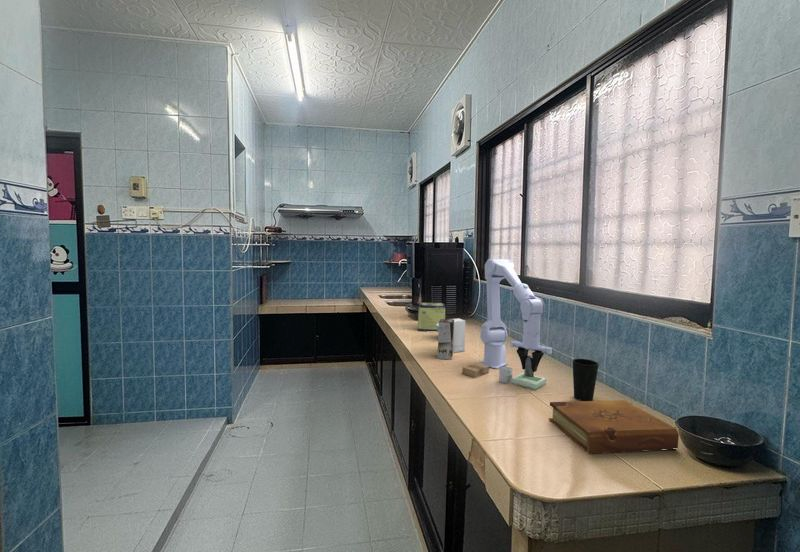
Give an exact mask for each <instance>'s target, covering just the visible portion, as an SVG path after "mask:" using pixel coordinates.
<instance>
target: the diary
mask: <svg viewBox="0 0 800 552" xmlns="http://www.w3.org/2000/svg"><path fill="white" fill-rule="evenodd" d="M549 406H550V407H551V408H552V417H549V418H548V421H550V422H551V423H552V424H554V426H556V427H557V428H558V429H559V430H560V431H561V432H562V433H564V434H565V435H566V436H567V437H568V438H569V439H570V438H571V439H570V440H571V441H573V442H574V443H575V442H576V443H577V444H578V445H579V446H578V445H577V444H576V443H575V444H576V445H577V446H578V447H580V448H581V447H582V448H583V449H584V450H585V451H586V452H588V453H592V454H604V453H603V452H616V453H623V452H622V451H640V452H644V451H643V450H662V449H673V448H678V447H679V437H680V436H679V435H680V433H679V431H678V429H677V428H676V427H674V426H672V425H671V424H669V423H667V422H665V421H663V420H662V419H660V418H658V417H656V416H654V415H652V414H650V413H649V412H647V411H646V410H644V409H642V408H640V407H638V406H636V405H634V404H633V403H631V402H629V401H627V400H625V399H624V400H623V399H622V400H621V399H617V400H592V401H581V400H577V401H550V402H549ZM582 448H581V449H582ZM583 449H582V450H583ZM584 450H583V451H584ZM585 451H584V452H585ZM586 452H585V453H586ZM588 453H587V454H588Z"/></svg>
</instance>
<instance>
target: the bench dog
mask: <svg viewBox="0 0 800 552" xmlns="http://www.w3.org/2000/svg"><path fill="white" fill-rule="evenodd" d="M511 378H513V367H512V366H506V365H504V366H502V367H500V368H499V377H498V382H499V383H502V384H505V385H508V384H509V383H511Z"/></svg>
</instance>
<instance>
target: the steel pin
mask: <svg viewBox="0 0 800 552" xmlns="http://www.w3.org/2000/svg"><path fill="white" fill-rule="evenodd" d="M532 367H533V358H532V355H529V354H528V355H526V356H525V369H523V371H524V372H523V373H524V376H526V377H534V376H535V372H533V371H532Z"/></svg>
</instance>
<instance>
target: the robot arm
mask: <svg viewBox="0 0 800 552" xmlns="http://www.w3.org/2000/svg"><path fill="white" fill-rule="evenodd" d="M484 278H485V279H486V307H487V308H486V310H487V311H486V313H487V314H486V315H487V319H486V321H485V322H483V324H481V329H480V339H481V341H482V343H483V344H484V350H483V352H484V354H483V361H482V362H480V363H479V364H482V365H486V366H489V368H492V369H496V370H497V369H500V368H501V367H504V366H506V365H508V362H506V358H507V357H506V355H507V347H506V346H505V343H506V341H507V339H508V332H507V325H506V324H505V323H504V322H503V321H502V320H501V291H500V290H501V289H500V282H501V281H502V280H504V279H505V280H507V282H508V284H509V285H511V287H512V288H513V289H512V294H513V295H514V296H515V298H516V299H517V301H518V303H519V304H520V306H519V307H520V308H519V309H520V312H521V318H522V320H523V324H522V341H516V340H512V341H510V345H509V347H511V348H517V350H516V353H517V354H518V357H519V360H520V363H521V364H520V365H521V367H522V368H521V369H522V370H525V356H526V355H529V352H530V351H532V352H531V356H532V358H533V367H532V371H533V372H534V373H536V372H537V371H538V367H539V365H540V362H541V360H542V358H543V356H544V355H545V354H547V355H552V353H553V348H552V347H549V346H545V345H542V344H540V340H541V339H540V337H541V316H542V315H543V314H544V312H545V309H546V305H545V302H544V300H543V298H540V297H538V296H535V294H534V292H532V290H531V288H530V287H529V285H528V284H526V283H522V281H521V280H520V277H519V276H518V274H517V273H516V271H515V263H513V261H512V259H510V258H488V259H487V260H486V261H485V264H484Z"/></svg>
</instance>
